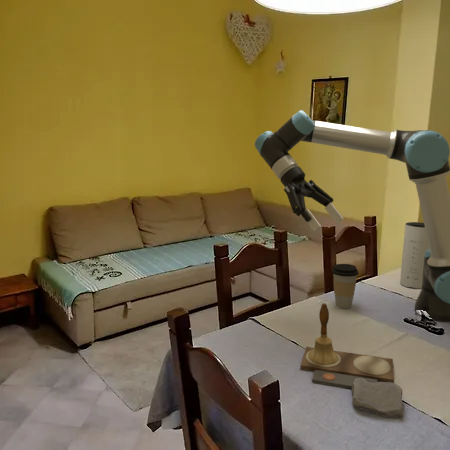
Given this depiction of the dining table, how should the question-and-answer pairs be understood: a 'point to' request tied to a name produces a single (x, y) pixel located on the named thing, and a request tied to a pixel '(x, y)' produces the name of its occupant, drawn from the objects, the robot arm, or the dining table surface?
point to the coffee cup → (344, 284)
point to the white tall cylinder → (413, 255)
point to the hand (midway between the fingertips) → (329, 225)
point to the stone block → (378, 398)
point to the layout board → (354, 366)
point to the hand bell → (323, 342)
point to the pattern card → (337, 379)
